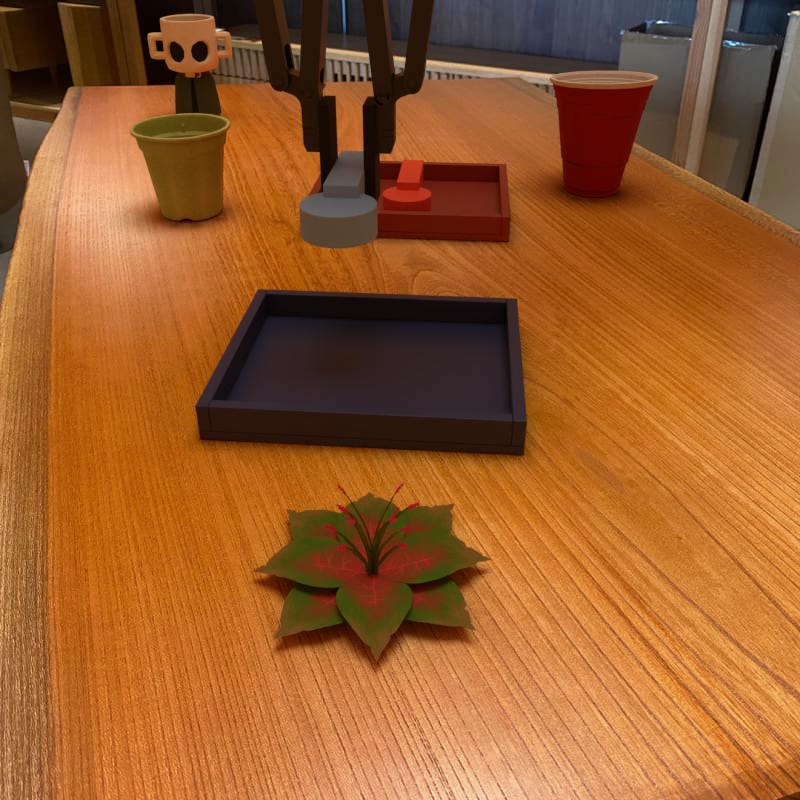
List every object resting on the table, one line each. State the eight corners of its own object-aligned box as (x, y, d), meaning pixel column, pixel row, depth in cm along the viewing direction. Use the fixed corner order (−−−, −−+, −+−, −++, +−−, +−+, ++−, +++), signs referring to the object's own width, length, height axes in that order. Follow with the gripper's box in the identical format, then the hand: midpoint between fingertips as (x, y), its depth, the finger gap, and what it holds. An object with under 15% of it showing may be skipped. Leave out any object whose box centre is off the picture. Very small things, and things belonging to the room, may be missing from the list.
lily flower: (236, 679, 36) (224, 602, 33) (260, 501, 46) (253, 432, 44) (514, 667, 36) (522, 591, 34) (478, 494, 47) (482, 425, 44)
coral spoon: (435, 186, 90) (435, 160, 89) (429, 222, 81) (430, 194, 79) (390, 185, 91) (390, 159, 89) (380, 220, 81) (380, 192, 80)
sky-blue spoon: (391, 191, 60) (391, 151, 58) (372, 250, 50) (372, 205, 49) (324, 189, 60) (322, 150, 58) (294, 247, 51) (291, 202, 49)
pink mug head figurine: (155, 126, 113) (140, 22, 107) (163, 113, 119) (148, 14, 113) (237, 124, 114) (226, 21, 107) (240, 112, 120) (230, 13, 113)
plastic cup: (608, 169, 97) (622, 59, 91) (660, 198, 89) (681, 79, 82) (523, 178, 94) (531, 66, 88) (568, 209, 86) (582, 87, 79)
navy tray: (514, 326, 64) (517, 298, 62) (523, 455, 50) (527, 421, 48) (260, 316, 65) (257, 288, 64) (199, 439, 51) (194, 406, 50)
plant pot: (180, 236, 79) (167, 143, 75) (126, 213, 85) (110, 125, 80) (258, 211, 85) (249, 124, 81) (202, 190, 91) (191, 108, 86)
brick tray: (504, 185, 92) (506, 163, 91) (508, 241, 78) (510, 216, 77) (328, 180, 94) (327, 159, 92) (301, 235, 80) (299, 210, 78)
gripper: (176, -239, 42) (227, 215, 54) (481, -242, 41) (462, 222, 53) (217, -224, 48) (254, 179, 61) (482, -226, 47) (465, 185, 60)
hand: (351, 199), depth 57 cm, fingers closed on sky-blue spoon, 2 cm apart
